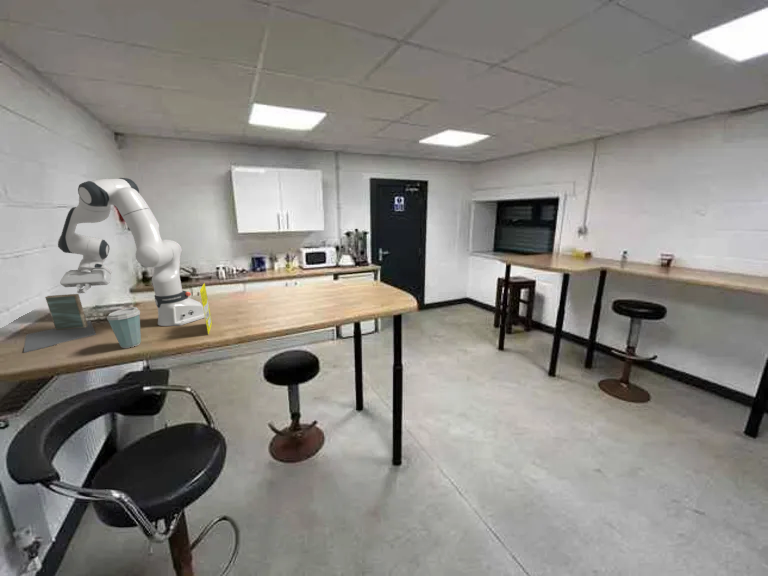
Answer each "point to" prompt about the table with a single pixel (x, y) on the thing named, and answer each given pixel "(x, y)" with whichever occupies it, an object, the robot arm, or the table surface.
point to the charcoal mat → (56, 337)
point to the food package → (206, 307)
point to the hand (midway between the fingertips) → (81, 292)
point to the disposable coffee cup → (126, 326)
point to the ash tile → (66, 311)
